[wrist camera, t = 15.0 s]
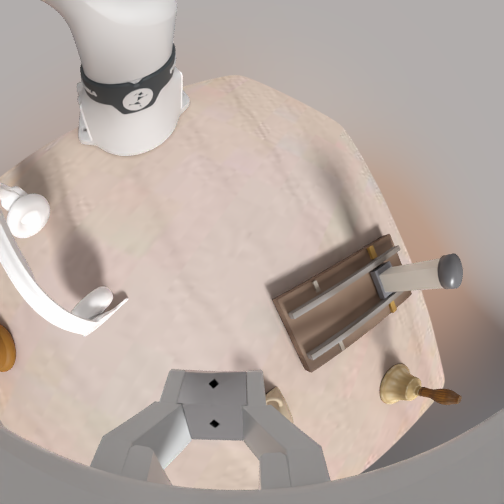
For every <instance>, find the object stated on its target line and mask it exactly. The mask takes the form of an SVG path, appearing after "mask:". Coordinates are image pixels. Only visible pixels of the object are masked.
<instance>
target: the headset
mask: <svg viewBox="0 0 504 504" xmlns="http://www.w3.org/2000/svg"><path fill="white" fill-rule="evenodd" d="M0 199H1V204H2V206H3V207H4V208H5V209H6V210H7V211H9V212H8V215H7V222H6V220H5V218H4V215H3V213H2V211H1V208H0V262H1V264H2V266H3V267H4V269H5V271H6V273H7V275H8V276H9V278H10V280H11V281H12V283H13V284H14V286H15V287H16V289H17V290H18V291H19V293H20V294H21V295H22V297H23V298H24V299H25V300H26V302H27V303H28V304H29V305H30V306H31V307H32V308H33V309H34V310H35V311H36V312H37V313H38V314H39V315H41V316H42V317H43V318H45V319H46V320H47V321H49V322H50V323H52V324H54V325H56V326H58V327H60V328H62V329H65V330H67V331H70V332H74V333H79V334H83V336H84V337H85V336H87V335H88V334H89V333H91V332H92V331H94V330H95V329H96V328H98V327H99V326H100V325H101V324H102V323H104V322H105V321H106V320H107V319H108V318H109V317H110V316H111V315H112V314H113V313H114V312H115V311H116V310H118V309H119V308H120V307H121V306H122V305H123V304H124V303H125V302H126V301H127V300H128V299H129V298H128V297H127V298H126V299H124V300H123V301H122V302H121V303H120V304H118V305H117V306H116V307H115V308H113V309H112V310H110V311H107V312H105V313H103V312H104V311H105V309H106V308H107V307H108V306H109V305H110V303H111V301H112V300H113V294H112V292H111V290H110V289H109V288H107V287H105V286H101V287H98V288H96V289H95V290H93V291H92V292H90V293H89V294H88V295H87V296H85V297H84V298H83V299H82V300H81V301H80V302H79V303H78V304H77V305H76V306H75V307H74V309H73V310H72V311H71V312H69V311H67V310H65V309H64V308H62V307H61V306H60V305H58V304H57V303H56V302H54V301H53V300H52V299H51V298H50V297H49V296H48V295H47V294H46V293H45V292H44V291H43V290H42V289H41V288H40V286H39V285H38V284H37V283H36V280H35V277H34V275H33V272H32V270H31V268H30V267H29V265H28V263H27V261H26V259H25V258H24V256H23V254H22V252H21V251H20V249H19V247H18V245H17V243H16V241H15V239H14V237H13V235H14V236H15V237H18V238H28V237H31V236H33V235H35V234H36V233H38V232H39V231H40V230H41V229H42V228H43V227H44V226H45V224H46V223H47V221H48V219H49V215H50V206H49V203H48V201H47V200H46V198H45V197H43V196H42V195H40V194H35V193H33V194H27V193H26V192H25V191H24V190H23V189H21V188H20V187H18V186H14V187H10V186H7V185H5V184H3V183H0ZM12 234H13V235H12ZM102 313H103V314H102Z"/></svg>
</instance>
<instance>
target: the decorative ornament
mask: <svg viewBox="0 0 504 504" xmlns="http://www.w3.org/2000/svg"><path fill="white" fill-rule="evenodd" d="M265 396H266V405H272V406H273V407H274V408H276V409H277V410H278V411H279V412H280V413H281V414H282V415H283V416H285V417H286V418H287V419H288V420H289V421H290V422H292V423H293V418H292V415H291V413H290V410H289V408H288V406H287V404H286V401H285V399H284V397H283V395H282V394H281V392H280V390H279V388H278V387H275V388H274V389H273V390H271V391H270V392H268V393H267V394H266V395H265Z"/></svg>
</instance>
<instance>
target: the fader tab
mask: <svg viewBox="0 0 504 504" xmlns="http://www.w3.org/2000/svg"><path fill="white" fill-rule="evenodd" d="M370 273H371V276H372V279H373V281H374V284H375V286H376V289H377V292H378V294H379V297H380V299H385V298H387V297H388V296H389V295H390V294H391V293H393V292H398V291H412V290H425V289H438V288H444V289H454V288H458V287H459V286H460V284H461V282H462V277H463V276H462V275H463V269H462V264H461V261H460V259H459V257H458V256H457V255H456V254H449V255H444V256H442V257H441V258H440V259H434V260H429V261H423V262H418V263H412V264H406V265H401V266H395V267H392V265H391V263H390V261H387V262H384V263H383V264H381V265H380V266H379V267H377V268H376V269H374V270H373V271H371V272H370Z"/></svg>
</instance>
